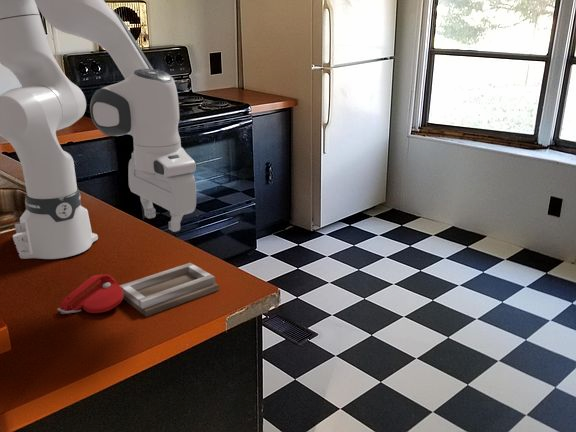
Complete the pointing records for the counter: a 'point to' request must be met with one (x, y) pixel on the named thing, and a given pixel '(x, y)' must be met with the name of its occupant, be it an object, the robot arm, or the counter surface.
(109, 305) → the tracker holder
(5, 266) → the counter surface
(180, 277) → the grey rectangular tray
